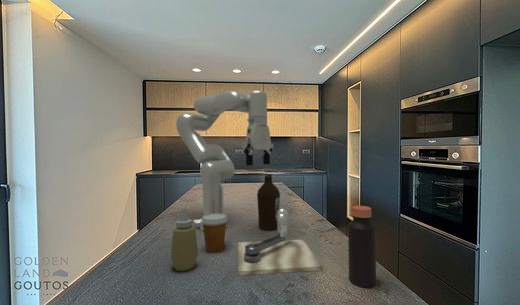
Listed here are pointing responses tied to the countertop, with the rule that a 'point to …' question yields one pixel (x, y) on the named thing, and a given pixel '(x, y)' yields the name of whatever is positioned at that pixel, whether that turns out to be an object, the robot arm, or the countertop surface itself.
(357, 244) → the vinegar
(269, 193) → the olive oil
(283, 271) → the lever board
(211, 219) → the disposable coffee cup
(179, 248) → the squeeze bottle
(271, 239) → the lever
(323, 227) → the countertop surface
